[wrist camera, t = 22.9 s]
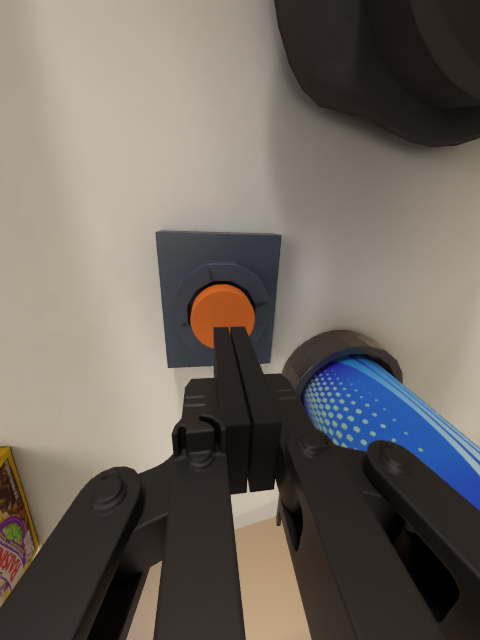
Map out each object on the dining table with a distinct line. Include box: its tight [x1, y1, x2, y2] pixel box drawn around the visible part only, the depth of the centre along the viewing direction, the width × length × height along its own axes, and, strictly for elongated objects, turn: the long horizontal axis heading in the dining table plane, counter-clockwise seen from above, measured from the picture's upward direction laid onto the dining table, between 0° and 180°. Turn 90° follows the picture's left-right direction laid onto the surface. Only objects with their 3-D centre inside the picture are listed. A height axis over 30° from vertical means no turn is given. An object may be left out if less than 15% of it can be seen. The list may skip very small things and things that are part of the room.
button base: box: [156, 231, 281, 368], centre depth 20 cm, size 11×9×4 cm
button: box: [191, 284, 255, 348], centre depth 17 cm, size 4×4×2 cm
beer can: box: [302, 354, 480, 510], centre depth 18 cm, size 8×8×16 cm
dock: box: [282, 330, 403, 403], centre depth 25 cm, size 11×11×4 cm
